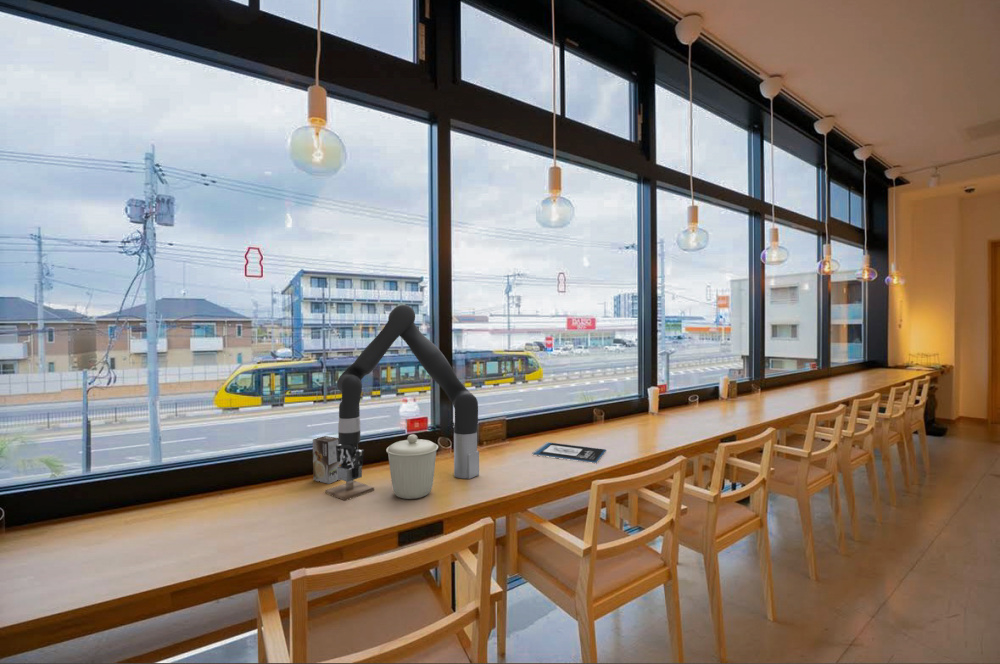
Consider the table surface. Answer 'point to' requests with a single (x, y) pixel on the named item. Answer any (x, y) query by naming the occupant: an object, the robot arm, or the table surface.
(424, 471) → the canister
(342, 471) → the collar
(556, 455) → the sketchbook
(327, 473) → the coffee box
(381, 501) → the table surface
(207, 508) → the table surface
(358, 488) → the post stand
